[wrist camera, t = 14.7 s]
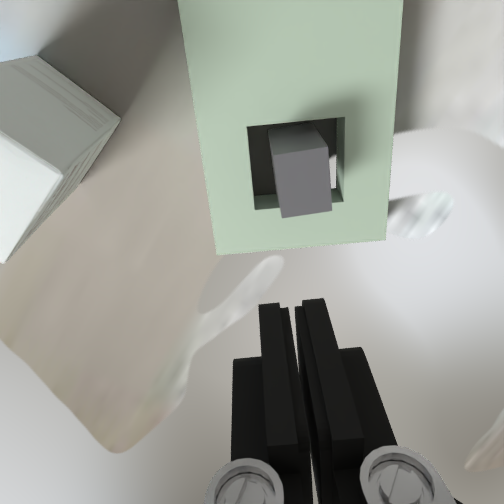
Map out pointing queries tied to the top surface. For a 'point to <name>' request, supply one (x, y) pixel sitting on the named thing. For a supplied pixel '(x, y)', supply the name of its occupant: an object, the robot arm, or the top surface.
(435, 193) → the top surface
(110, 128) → the supplement box
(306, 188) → the plug
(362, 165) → the socket plate
